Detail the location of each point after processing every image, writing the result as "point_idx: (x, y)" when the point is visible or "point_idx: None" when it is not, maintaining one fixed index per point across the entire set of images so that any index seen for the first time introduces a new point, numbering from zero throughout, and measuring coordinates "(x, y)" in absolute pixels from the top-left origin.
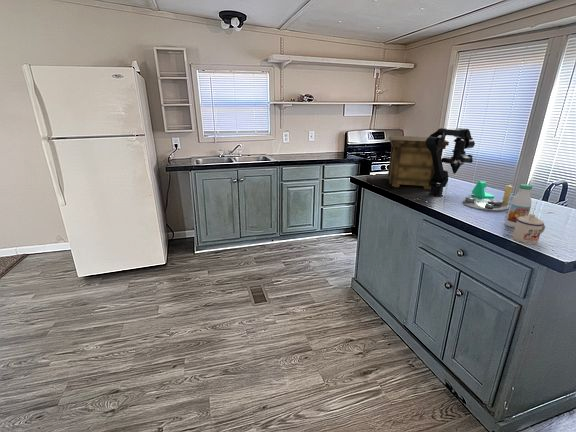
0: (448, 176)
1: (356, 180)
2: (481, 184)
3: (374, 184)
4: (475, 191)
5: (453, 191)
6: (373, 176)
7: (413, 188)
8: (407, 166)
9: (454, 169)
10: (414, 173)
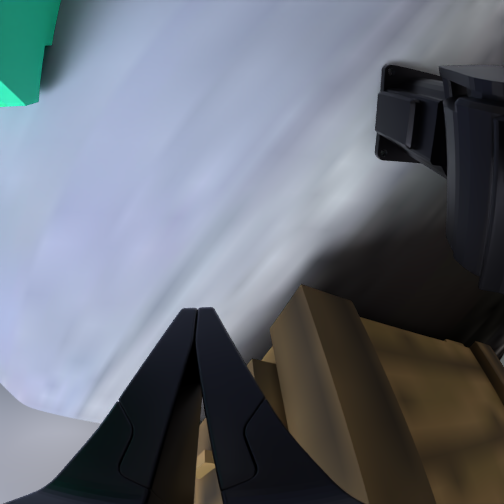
0: (501, 119)
1: None
2: None
3: None
4: (26, 40)
5: (143, 217)
6: None
7: (407, 314)
8: (499, 435)
9: (255, 387)
10: (456, 400)
